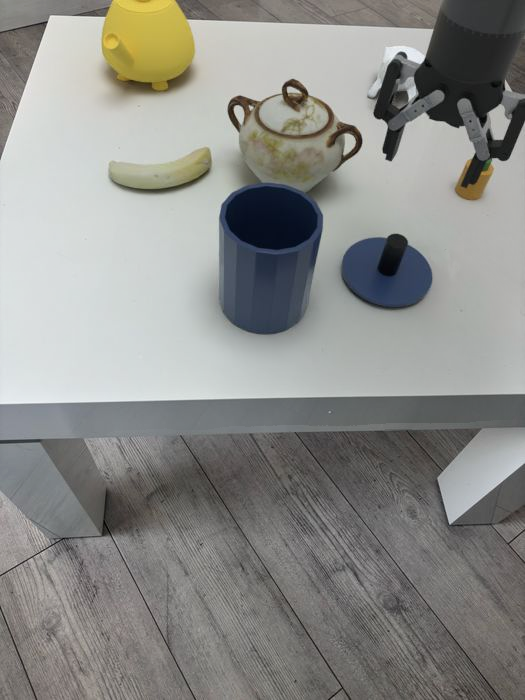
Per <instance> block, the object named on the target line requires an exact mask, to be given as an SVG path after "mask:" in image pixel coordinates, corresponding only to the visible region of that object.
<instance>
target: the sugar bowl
mask: <svg viewBox="0 0 525 700" xmlns="http://www.w3.org/2000/svg"><path fill="white" fill-rule="evenodd" d="M288 88H293V89H295V90H297V91H299V93H298V92H288ZM236 106H239V107H241V108H242V110H243V121H242V123H241V122H240V121H239V119H238V118H237V116H236V114H235V107H236ZM250 107H253V108H252V109H250ZM226 111H227V115H228V118H229V120H230V122H231V125H233V127H234V128H235V129H236V131H237V132H238V147H239V150H240V153H241V156H242V158H243V160H244V162H245V163H246V165H247V167H248V168H249V169H250V171H251V172H252V173H253V174H254V175H255V176H256V177H257V179H258V180H259V181H260V183H266V182H267V183H277V184H285V185H288V186H290V187H293V188H295V189H298V190H301V191H302V192H304V193H306V194H307V192H309V191H311V190H312V189H313V188H314V187H315V186H316V185H318V184H319V183H320V182H322V181H323V180H324V179H325V178H327V176H329V175H330V174H331V173H333V172H335V171H337V170H338V169H340V167H342V165H343V164H344V163H346V162H347V161H348V160H351V159H352V158H354V156H355V155H357V154H358V153H359V152H360V150H361V148H362V147H363V141H364V140H363V136H362V133H361V131H360V130H359V129H358V128H357V126H355V125H353V124H350V123H345V122H342V121H340V119H339V118H338V116H337V114H335V113H334V111H333V110H332V108H331V106H329V104H327V103H326V102H325V101H323V100H322V99H320V98H317V97H315V96H313V95H309V91H308V89H307V88H306V87H305V85H304V84H302V83H301V81H299V80H297V79H295V78H291V79H288V80H286V81H285V82H284V83H283V84H282V87H281V93H276V94H273V95H271V96H268V97H266V98H264V99H262V100H261V101H259V100H256V99H252V98H250V97H246V96H244V95H241V94H240V95H236V96H234V97H232V98H231V99H230V100H229V102H228V104H227V110H226ZM345 134H348V135H351V136H353V138H354V140H355V145H354V147H353V148H352V149H351V150H350V151H349V152H347V153H346V154H344V152H345V147H346V135H345Z"/></svg>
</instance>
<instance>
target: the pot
mask: <svg viewBox="0 0 525 700" xmlns="http://www.w3.org/2000/svg"><path fill="white" fill-rule="evenodd" d="M219 210H220V211H219V216H218V293H219V294H218V296H219V297H218V299H219V303H220V307H221V310H222V313H223V314H224V315H225V317H226V318H227V320H229V322H231V323H232V325H235V326H236V327H237V328H239V329H242V330H243V331H246V332H249V333H253V334H258V335H273V334H278V333H282V332H284V331H287V330H289V329H291V328H293V327H294V326H295V325H296V324H298V323H299V321H301V319H302V317H303V316H304V314H305V312H306V310H307V307H308V303H309V297H310V293H311V288H312V285H313V284H312V283H313V279H314V273H315V269H316V264H317V259H318V254H319V249H320V244H321V239H322V234H323V230H324V214H323V212H322V210H321V208H320V207H319V205H318V202H317V201H316V200H315V199H313V198H312V197H311V196H309V195H308V194H307V192H306V193H304V192H302V191H301V190H298V189H295V188H293V187H290V186H288V185H285V184H277V183H267V182H266V183H262V182H260V183H253V184H247V185H245V186H243V187H240V188H238V189H237V190H234V191H232V192H231V193H230V194H229V195H228V196H227V198H225V199H224V201H223V202H222V203H221V205H220V209H219Z"/></svg>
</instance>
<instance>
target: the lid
mask: <svg viewBox="0 0 525 700" xmlns="http://www.w3.org/2000/svg"><path fill="white" fill-rule="evenodd" d="M432 271H433V270H432V267H431V265H430V264H429V262H428V259H426V257H425V256H424V255H423V254H422V252H420V251H419V250H418V249H416V248H414V247H413V246H411V245H410V244H409V240H408V238H407V237H405V235H403V234H400V233H391V234H389V235H388V236H387V237H382V236H378V237H377V236H376V237H367V238H364V239H361V240H359V241H357V242H355V243H353V244H352V245H350V247H348V248H347V250H346V251H345V253H344V255H343V258H342V261H341V274H342V277H343V279H344V281H345V283H346V284H347V286H348V287H349V288H350V289H351V291H353V292H354V293H355V295H357V296H359V297H360V298H361V299H363V300H365V301H367V302H369V303H372V304H374V305H377V306H382V307H387V308H402V307H407V306H411V305H413V304H416V303H418V302H419V301H420V300H423V298H425V296H426V295H427V294H428V292H429V291H430V290H431V287H432V284H433V272H432Z"/></svg>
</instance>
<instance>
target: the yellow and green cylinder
mask: <svg viewBox="0 0 525 700" xmlns="http://www.w3.org/2000/svg"><path fill="white" fill-rule="evenodd" d="M471 161H472V158H469V159H467V160H466V162H465V165H464V167H463V169H462V171H461V173H460V176H459V179H458V181H457V183H456V186H455V193H457V195H458V196H459V197H461V198H463V199H466V200H470V201H475V200H479V199H480V198H481V197H482V196H483V193H484V191H485V190H486V187H487V185H488V184H489V181H490V179H491V177H492V175H493V173H494V170H495V168H494V165H493V164H492V162H493V158H492V159H489V160H488V161H487V162H486V164H485V166H484V168H483V170H482V172H481V175H480V177H479V179H478V181H477V182H476V183H475V184H474V185H471V184H468V187H467V188H464V187H461V184H462V181H463V179H464V177H465V174H466V172H467V170H468V168H469V165H470V163H471Z"/></svg>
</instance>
